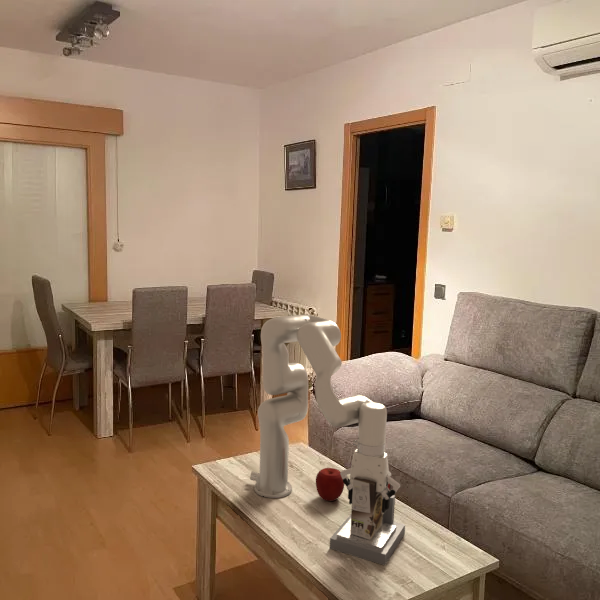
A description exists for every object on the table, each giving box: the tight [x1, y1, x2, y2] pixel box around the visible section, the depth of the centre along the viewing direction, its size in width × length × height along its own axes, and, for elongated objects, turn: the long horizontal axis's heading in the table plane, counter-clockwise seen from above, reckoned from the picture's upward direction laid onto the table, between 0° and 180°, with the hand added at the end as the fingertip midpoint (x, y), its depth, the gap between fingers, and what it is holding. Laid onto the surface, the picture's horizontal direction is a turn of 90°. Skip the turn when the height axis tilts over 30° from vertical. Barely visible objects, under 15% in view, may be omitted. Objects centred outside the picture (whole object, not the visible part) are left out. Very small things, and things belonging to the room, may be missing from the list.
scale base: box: [329, 494, 406, 566], centre depth 163 cm, size 16×18×11 cm
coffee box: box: [350, 477, 384, 540], centre depth 161 cm, size 9×6×16 cm
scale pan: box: [337, 519, 396, 551], centre depth 162 cm, size 13×13×1 cm
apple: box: [315, 467, 345, 502], centre depth 188 cm, size 10×10×10 cm
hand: (368, 506), depth 161 cm, fingers open, 9 cm apart
